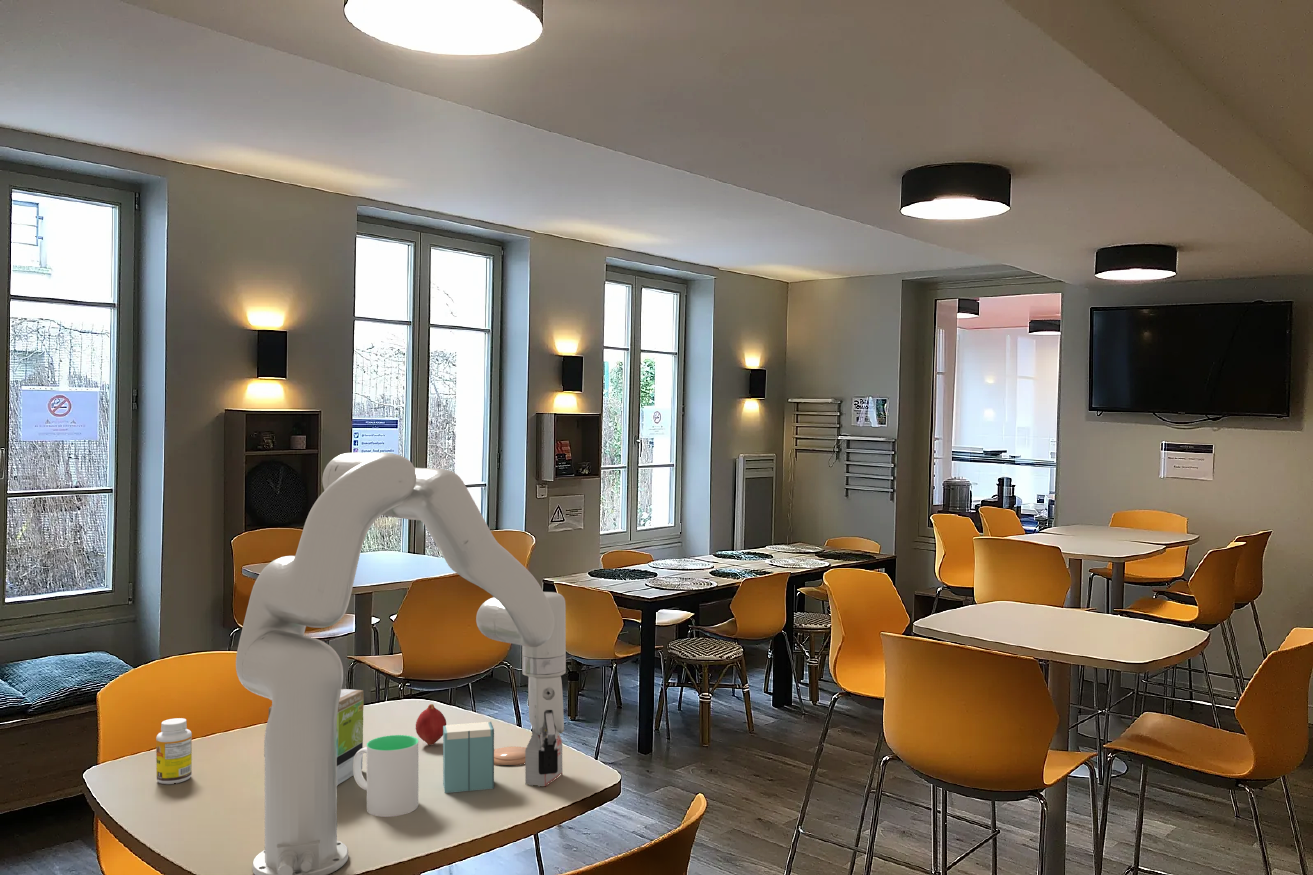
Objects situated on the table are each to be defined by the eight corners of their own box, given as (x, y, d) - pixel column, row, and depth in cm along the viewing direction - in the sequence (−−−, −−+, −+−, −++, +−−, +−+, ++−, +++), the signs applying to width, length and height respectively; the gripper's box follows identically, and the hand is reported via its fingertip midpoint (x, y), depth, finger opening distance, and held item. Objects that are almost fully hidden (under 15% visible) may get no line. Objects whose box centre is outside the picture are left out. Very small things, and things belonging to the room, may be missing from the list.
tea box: (320, 800, 163) (320, 710, 163) (265, 796, 165) (264, 707, 165) (364, 770, 178) (364, 687, 178) (313, 766, 180) (313, 684, 180)
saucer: (539, 763, 181) (539, 758, 181) (489, 767, 179) (489, 762, 179) (532, 748, 190) (532, 743, 190) (484, 752, 188) (484, 747, 188)
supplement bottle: (159, 776, 175) (159, 718, 175) (194, 773, 176) (193, 715, 176) (153, 786, 169) (153, 726, 169) (189, 783, 171) (189, 724, 171)
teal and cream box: (494, 788, 168) (493, 729, 168) (444, 793, 166) (444, 732, 166) (491, 779, 173) (491, 721, 173) (443, 784, 171) (443, 725, 171)
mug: (336, 808, 160) (336, 743, 160) (369, 791, 167) (369, 730, 167) (397, 819, 155) (397, 753, 155) (428, 802, 162) (428, 738, 162)
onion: (413, 742, 194) (412, 701, 194) (442, 738, 196) (442, 698, 196) (419, 751, 188) (419, 709, 188) (449, 747, 191) (449, 705, 191)
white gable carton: (525, 784, 171) (525, 726, 170) (543, 771, 177) (543, 715, 177) (544, 787, 169) (544, 728, 169) (562, 774, 176) (562, 717, 175)
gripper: (574, 674, 166) (574, 780, 166) (557, 652, 182) (557, 748, 182) (529, 677, 164) (529, 784, 164) (516, 655, 180) (516, 751, 180)
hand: (544, 764), depth 173 cm, fingers closed on white gable carton, 7 cm apart
